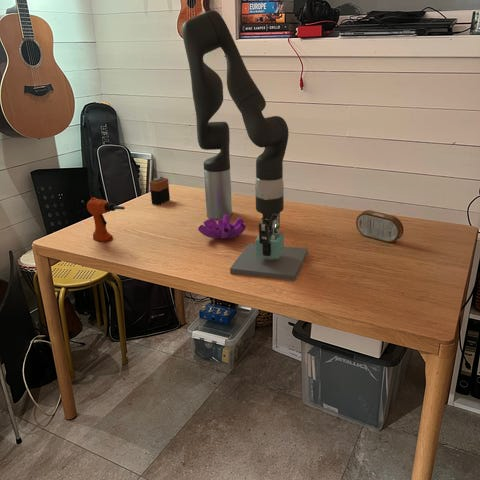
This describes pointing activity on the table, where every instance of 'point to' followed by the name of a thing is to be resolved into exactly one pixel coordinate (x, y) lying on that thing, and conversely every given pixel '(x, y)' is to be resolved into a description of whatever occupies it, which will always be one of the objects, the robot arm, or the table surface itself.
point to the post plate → (270, 263)
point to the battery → (159, 190)
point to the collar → (272, 246)
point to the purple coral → (222, 228)
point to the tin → (379, 226)
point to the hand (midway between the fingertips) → (270, 250)
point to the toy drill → (101, 217)
